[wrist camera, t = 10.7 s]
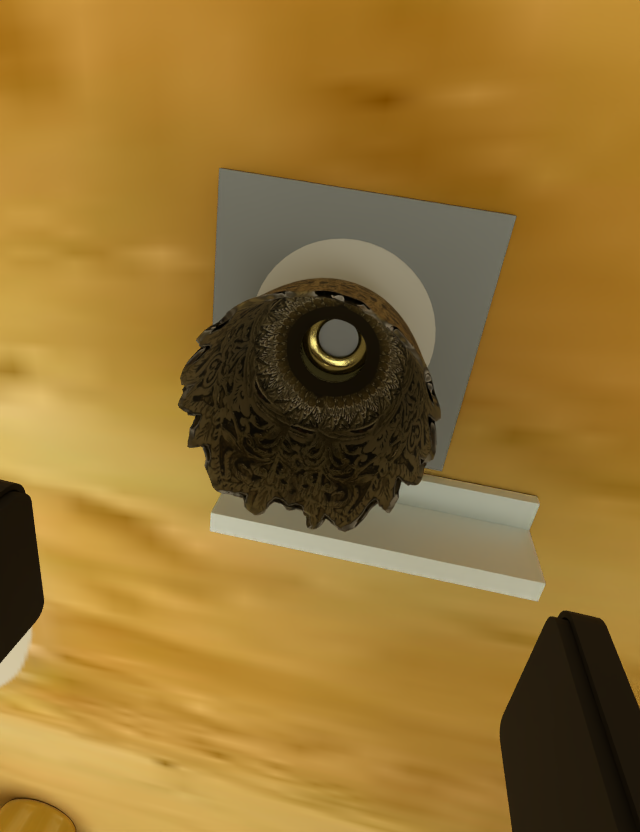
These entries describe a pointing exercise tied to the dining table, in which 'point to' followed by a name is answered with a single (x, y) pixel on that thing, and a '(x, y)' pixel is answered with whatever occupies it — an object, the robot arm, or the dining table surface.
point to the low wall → (416, 535)
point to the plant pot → (33, 817)
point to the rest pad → (368, 265)
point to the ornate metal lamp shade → (311, 404)
